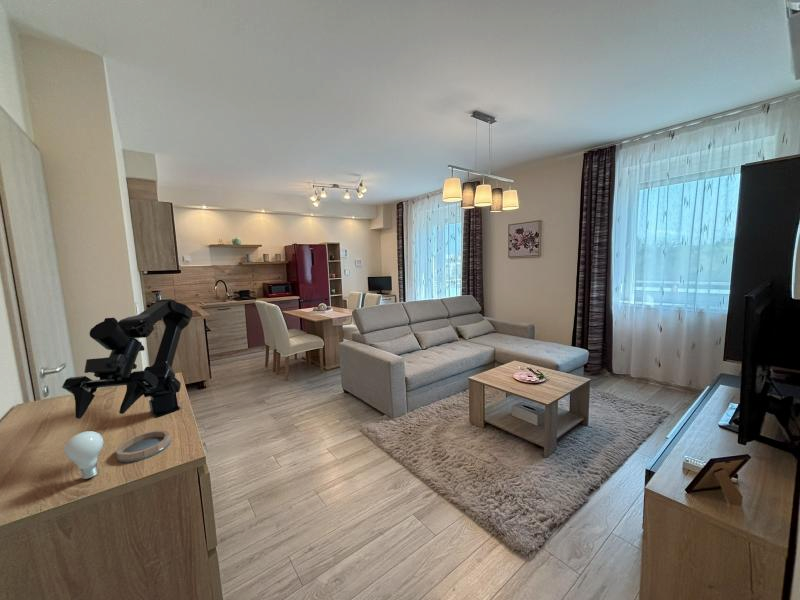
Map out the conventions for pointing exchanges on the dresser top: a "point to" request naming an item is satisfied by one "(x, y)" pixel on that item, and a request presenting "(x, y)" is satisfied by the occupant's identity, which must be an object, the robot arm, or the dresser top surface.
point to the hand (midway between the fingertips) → (99, 415)
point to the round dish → (143, 446)
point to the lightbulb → (85, 452)
